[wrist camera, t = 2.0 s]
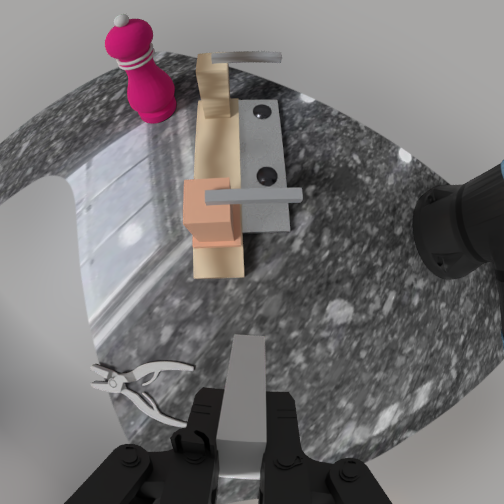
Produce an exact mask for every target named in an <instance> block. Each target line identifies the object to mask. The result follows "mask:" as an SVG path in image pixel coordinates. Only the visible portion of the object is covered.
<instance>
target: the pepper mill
mask: <svg viewBox="0 0 504 504" xmlns="http://www.w3.org/2000/svg"><path fill="white" fill-rule="evenodd" d="M114 24H115V26H114V27H113V28H112V29H111V30H110V32H109V33H108V35H107V37H106V40H105V47H106V50H107V53H108V54H109V55H110V56H111V57H113V58H116V62H117V63H118V65H119V67H120V68H121V69H123V70H125V71H126V72H127V75H128V79H129V81H128V90H127V94H128V101H129V103H130V105H131V107H132V108H133V109H134V110H135V111H137V112H138V113H139V115H140V117H141V119H142V120H143V121H145V122H147V123H159V122H162V121H164V120H166V119H167V118H169V117H170V116H171V115H172V114H173V113H174V111H175V109H176V100H175V97H174V92H175V87H174V84H173V81H172V79H171V78H170V77H169V76H168V74H166V73H165V72H164V71H163V70H161V69H160V68H159V67H157V65H156V64H155V62H154V60H153V56H154V53H155V51H154V48H153V44H152V43H151V41H152V39H153V31H152V28H151V26H150V25H149V24H148V23H147V22H146V21H144V20H141V19H129V17H128V16H127V15H125V14H121V15H118V16H117V17H116V18H115V20H114Z"/></svg>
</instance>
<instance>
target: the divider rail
mask: <svg viewBox="0 0 504 504" xmlns="http://www.w3.org/2000/svg"><path fill="white" fill-rule="evenodd" d="M281 59H282V55H281V52H217V53H205V54H198V58H197V66H196V76H197V81H198V86H199V91H200V96H201V101H198V112H197V127H196V144H195V166H194V179H208V178H227V177H230V186H231V189H241V175H240V141H239V104H238V98H237V99H230V86H229V67H228V63H237V62H272V63H273V62H274V63H281ZM240 224H241V247H222V248H196V249H194V248H193V264H194V278H195V279H211V278H240V277H244V259H243V233H242V205H241V204H240Z"/></svg>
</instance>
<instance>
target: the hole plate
mask: <svg viewBox="0 0 504 504" xmlns="http://www.w3.org/2000/svg"><path fill="white" fill-rule="evenodd" d="M238 104H239V141H240V175H241V189H246V188H287V184H286V173H285V163H284V153H283V143H282V134H281V125H280V117H279V109H278V101H277V100H238ZM241 205H242V233H243V234H260V233H289V232H290V220H289V207H288V203H257V204H241Z"/></svg>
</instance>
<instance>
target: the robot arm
mask: <svg viewBox="0 0 504 504" xmlns="http://www.w3.org/2000/svg"><path fill="white" fill-rule="evenodd" d="M413 234H414V239H415V243H416V247H417V250H418V252H419V255H420V257H421V259H422V260H423V262H424V264H425V265H426V266H427V268H428V269H429V270H430V271H431V272H432V273H433V274H435V275H436V276H438V277H440V278H442V279H458V278H462V277H464V276H466V275H468V274H469V273H471V272H472V271H474V270H475V269H477V268H478V267H479V266H481V265H482V264H484V263H486V262H492V261H493V263H494V268H495V273H496V279H497V285H498V292H499V300H500V310H501V323H502V329H501V337H502V340H503V348H504V160H503V161H502V163H501V164H499V165H497V166H495V167H494V168H492V169H490V170H488V171H487V172H485V173H483V174H481V175H480V176H478V177H476V178H474V179H472V180H470V181H469V182H467V183H465V184H463V185H444V186H437V187H434V188H432V189H431V190H429V191H427V192H426V193H424V194H423V195H422V196H421V197H420V199H419V200H418V202H417V204H416V207H415V210H414V215H413ZM170 439H171V443H172V446H173V449H171V450H169V451H163V452H147V451H146V450H145V449H143V448H142V447H141V446H138V445H135V444H124V445H121V446H119V447H117V448H116V449H115V450H113V452H112V453H111V454H110V455H109V456H108V457H107V458H106V459H105V460H104V462H103V463H102V464H101V465H100V466H99V467H98V468H97V469H96V470H95V471H94V472H93V473H92V475H91V476H90V477H89V478H88V479H87V480H86V481H85V482H84V483H83V484H82V485H81V486H80V487H79V488H78V490H77V491H76V492H75V493H74V494H73V495H72V496H71V497H70V498H69V499H68V500H67V501H66V502H65V503H64V504H216V501H217V494H218V477H227V478H239V479H260V488H259V493H258V498H257V499H259V501H258V504H392V502H391V501H390V500H389V498H388V497H387V495H386V494H385V492H384V491H383V489H382V488H381V486H380V485H379V483H378V482H377V480H376V479H375V478H374V476H373V474H372V473H371V471H370V470H369V468H368V467H367V466H366V465H365V464H364V463H363V462H362V461H360V460H358V459H354V458H345V459H341V460H339V461H337V462H335V463H334V464H331V463H324V462H319V461H315V460H313V459H311V458H309V457H308V456H307V455H305V454H304V452H303V451H302V448H301V444H300V437H299V429H298V422H297V414H296V407H295V400H294V399H293V397H292V396H291V395H290V393H289V392H266V373H265V336H251V335H236V334H234V339H233V345H232V350H231V356H230V362H229V368H228V373H227V379H226V385H225V390H224V389H214V388H205V387H203V388H202V389H201V390H200V391H199V392H198V393H197V394H196V395H195V398H194V402H193V405H192V409H191V413H190V415H189V419H188V422H187V426H186V427H185V428H181V429H179V430H177V431H176V432H174V433H173V435H172V436H171V438H170Z"/></svg>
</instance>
